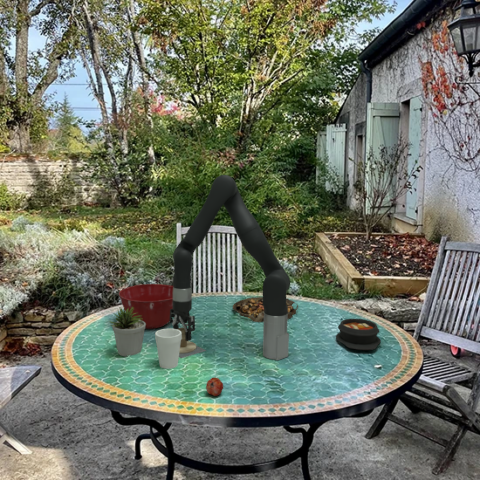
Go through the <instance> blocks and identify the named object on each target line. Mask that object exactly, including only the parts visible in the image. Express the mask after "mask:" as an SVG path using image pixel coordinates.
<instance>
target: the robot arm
mask: <svg viewBox="0 0 480 480" xmlns="http://www.w3.org/2000/svg"><path fill="white" fill-rule="evenodd" d="M222 207H224V208H225V210H226V211H227V213H228V215H229V217H230V220H231V222H232V225H233V229H234V231H235V233H236V236H237V237H238V239H239V240H240V242H241V244H242V246H243V248H244V250H245V251H246V252H247V253H248V254H249V255H250V257H252V259H254V260H255V262H257V263H258V265H259V266H260V268H261V270H262V271H263V274H264V276H265V278H264V280H263V282H262V297H263V307H264V322H263V327H262V328H263V331H262V332H263V333H262V334H263V336H262V356H263V357H264V358H267V359H270V360H275V361H279V360H282V359H286V358H287V357H289V343H290V333H289V332H288V320H289V319H288V306H287V305H286V299H287V292H288V291H289V289H290V287H291V279H290V277H289V275H288V273H287V271H286V270H285V268H284V267H283V266H282V265H281V263H280V261H279V260H278V259H277V257H276V255H275V253H274V252H273V249H272V246H271V245H270V243H269V241H268V240H267V237H266V235H265V234H264V232H263V229H262V228H261V226H260V225H259V223H258V221H257V219H255V216H254V215H253V214H252V213H251V211H250V209H248V207H247V205H246V204H245V202H244V200H243V198H242V195H241V193H240V191H239V189H238V185H237V182H236V181H235V180H234V178H233V177H232V176H230V175H228V174H221V175H219V176H217V177H216V178H215V179H214V181H213V183H212V185H211V188H210V190H209V192H208V195H207V197H206V200H205V201H204V204H203V205H202V207H201V208H200V211H199V212H198V214H197V216H196V217H195V219H194V220H193V221H192V223H191V225H190V226H189V228H188V230H187V232H186V233H185V235H184V237H183V238H182V239H181V240H180V242H179V243H178V245H177V246H176V248H175V249H174V251H173V253H172V259H173V269H174V271H173V272H174V274H173V279H172V280H173V281H172V284H173V285H172V286H173V309H170V321H169V323H170V324H171V326H172V329H178V328H180V327H179V326H180V325H179V324H181V326H182V327H183V328H185V331H186V332H185V340H186V341H190V342H191V340H192V332H195V331H196V321H195V319H196V317H195V315H191V314H190V312H191V310H192V308H193V306H192V305H193V303H192V302H193V292H192V291H193V290H192V268H193V254H194V252H195V251H196V250H197V248H198V247H200V246H201V244H202V243H203V241H205V238H206V237H207V235H208V233H209V232H210V230H211V228H212V225H213V223H214V221H215V218H216V217H217V215H218V213H219V212H220V210H221V208H222Z"/></svg>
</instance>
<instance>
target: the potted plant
mask: <svg viewBox="0 0 480 480" xmlns="http://www.w3.org/2000/svg"><path fill="white" fill-rule="evenodd" d="M132 309H133V307H132V308H131V309H130V311H129V308H128V309H127V310H126V312H125V310H124V309H123V307H120V308H119V309H117V312H118V313H117V314H116V313H114V312H113V313H112V314H113V315H114V316H116V317H115V320H116V322H113V321H110V320H108V322H110V323H111V324H110V326H111V327H112V331H113V333H114V339H115V345H116V349H117V354H118V355H120V356H121V357H129V356H134V355H138V354H140V353H141V352H142V349H143V343H144V342H143V341H144V336H145V335H144V334H145V329H146V328H145V326H146V323H145V322H144V321H141V319H143V318H137V317H140V316H134V317H132V316H133V315H134V314H136V313H134V314H131V313H132V311H133V310H134V309H133V310H132ZM131 310H132V311H131ZM128 311H129V312H128ZM130 315H131V316H130Z"/></svg>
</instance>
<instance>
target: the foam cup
mask: <svg viewBox="0 0 480 480" xmlns="http://www.w3.org/2000/svg"><path fill="white" fill-rule="evenodd" d="M154 335H155V344H156V350H157V356H158V362H159V367H160V368H161V369H165V370H166V369H168V370H170V369H174V368H177V367H178V364H179V359H180V357H179V351H180V343H181V339H182V333H181V331H180V330H178V329H173V328H163V329H159V330H157V331H155V332H154Z"/></svg>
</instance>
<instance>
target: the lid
mask: <svg viewBox="0 0 480 480" xmlns="http://www.w3.org/2000/svg"><path fill="white" fill-rule="evenodd" d="M178 330H180V331H181V333H182V339H181V343H180V351H179V354H184V353H190V352H193V351H194V350H195V349H196V346H197V344H196V343H194V342H193V341H191V340H190V341H186V340H185V332H186V331H185V328H184V327H183V326H182V327H179V328H178Z"/></svg>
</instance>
